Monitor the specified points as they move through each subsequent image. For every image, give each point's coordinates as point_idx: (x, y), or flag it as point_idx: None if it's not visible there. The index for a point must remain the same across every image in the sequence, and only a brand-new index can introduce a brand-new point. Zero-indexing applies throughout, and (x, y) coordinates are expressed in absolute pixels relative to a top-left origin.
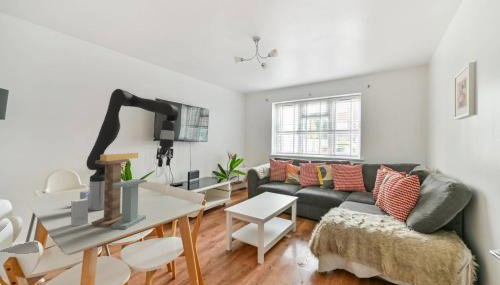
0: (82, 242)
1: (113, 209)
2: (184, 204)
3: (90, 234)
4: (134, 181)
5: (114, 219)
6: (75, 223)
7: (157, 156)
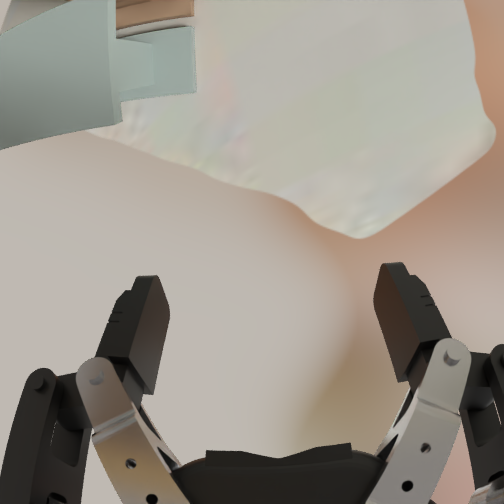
0: None
1: None
2: (419, 166)
3: None
4: (34, 91)
5: (119, 10)
6: None
7: (37, 413)
